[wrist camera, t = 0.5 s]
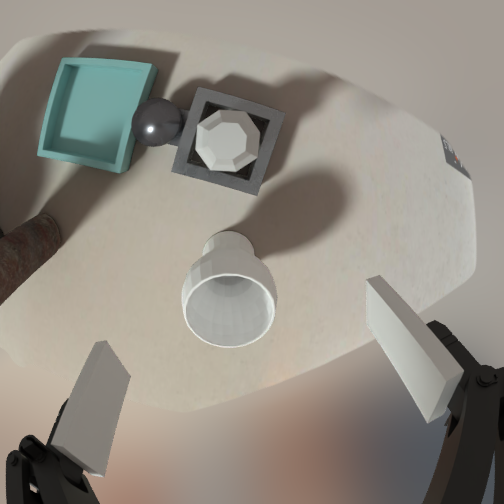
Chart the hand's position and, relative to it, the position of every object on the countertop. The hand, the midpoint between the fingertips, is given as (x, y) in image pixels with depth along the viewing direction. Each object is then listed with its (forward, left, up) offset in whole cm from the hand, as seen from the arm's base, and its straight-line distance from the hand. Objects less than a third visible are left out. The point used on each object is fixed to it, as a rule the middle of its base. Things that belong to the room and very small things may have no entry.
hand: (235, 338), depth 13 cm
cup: (+2, -8, -29) cm, 30 cm away
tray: (-23, +8, -28) cm, 37 cm away
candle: (-29, -13, -29) cm, 43 cm away
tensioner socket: (-6, +8, -28) cm, 30 cm away
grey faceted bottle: (-3, +8, -29) cm, 30 cm away
